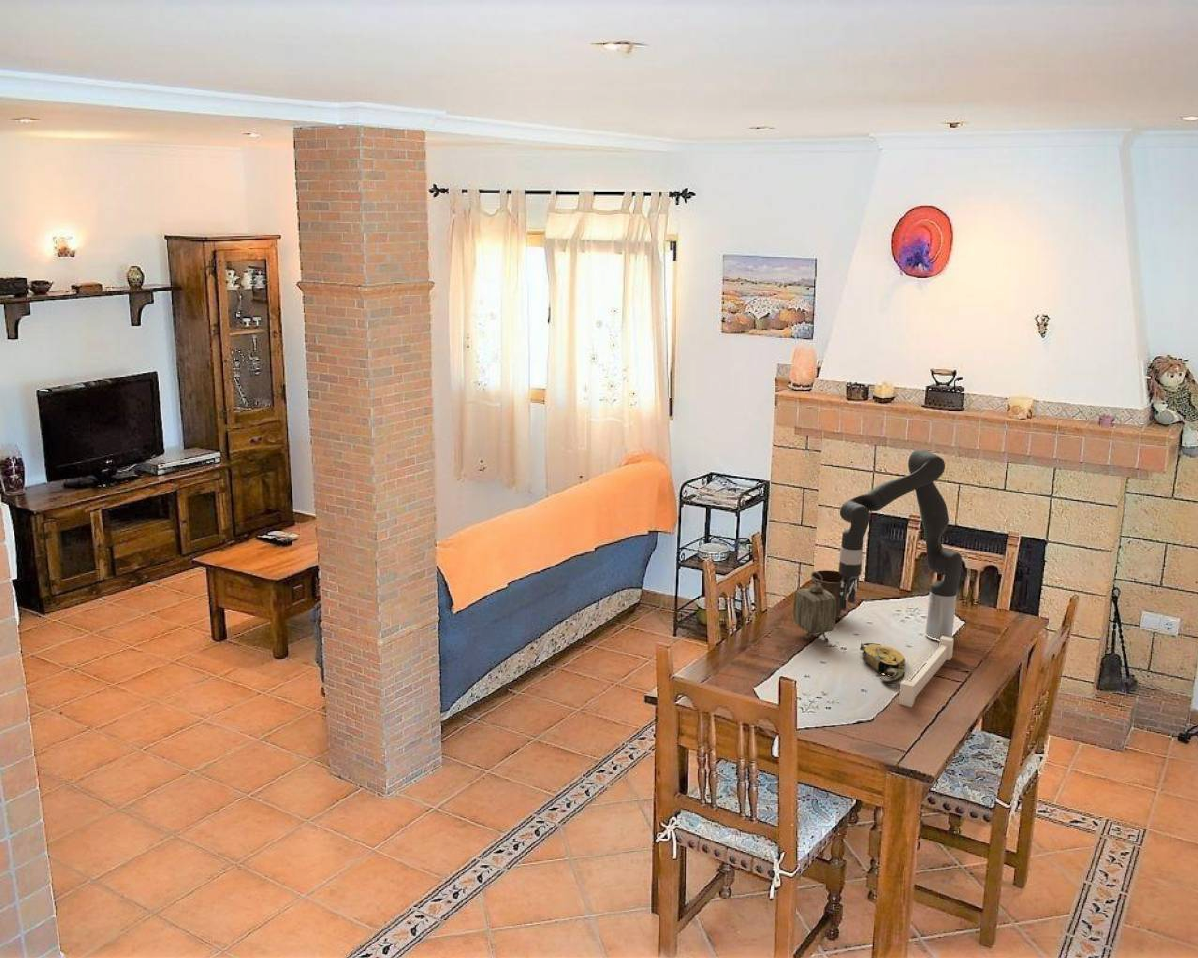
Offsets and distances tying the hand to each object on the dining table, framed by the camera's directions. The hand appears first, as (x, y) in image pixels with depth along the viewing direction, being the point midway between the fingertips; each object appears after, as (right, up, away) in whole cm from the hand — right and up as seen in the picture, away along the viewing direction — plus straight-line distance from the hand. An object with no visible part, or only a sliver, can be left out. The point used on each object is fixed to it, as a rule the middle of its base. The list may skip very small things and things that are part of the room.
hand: (847, 605), depth 373 cm
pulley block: (+12, -22, -3) cm, 25 cm away
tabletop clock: (-8, -15, +23) cm, 28 cm away
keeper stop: (+24, -23, -10) cm, 35 cm away
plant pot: (+3, -9, +45) cm, 46 cm away
